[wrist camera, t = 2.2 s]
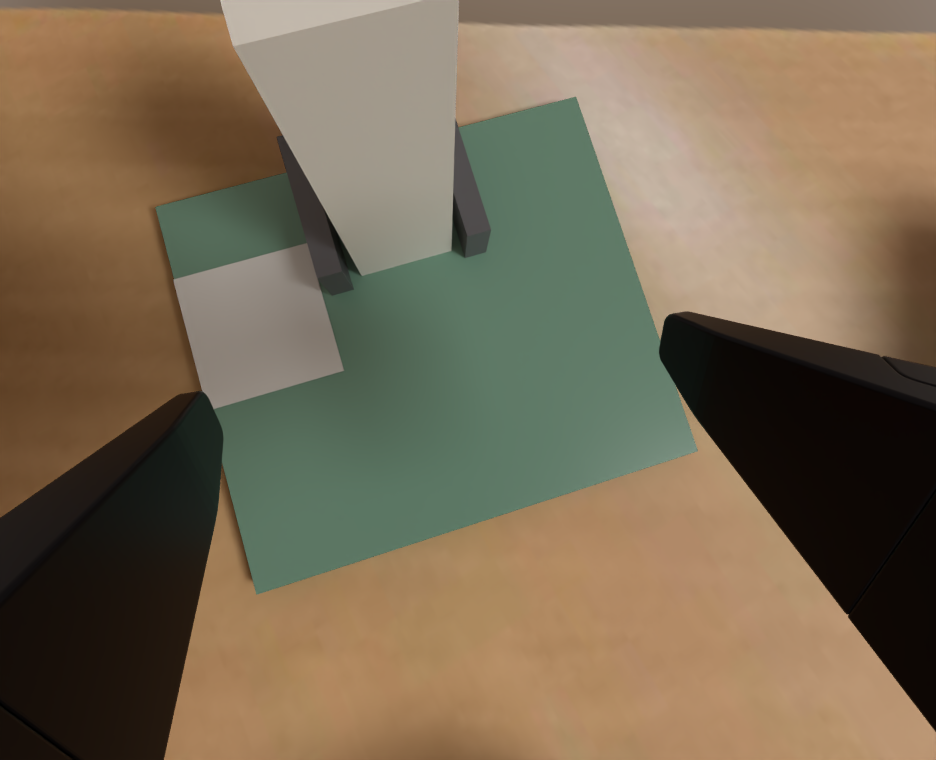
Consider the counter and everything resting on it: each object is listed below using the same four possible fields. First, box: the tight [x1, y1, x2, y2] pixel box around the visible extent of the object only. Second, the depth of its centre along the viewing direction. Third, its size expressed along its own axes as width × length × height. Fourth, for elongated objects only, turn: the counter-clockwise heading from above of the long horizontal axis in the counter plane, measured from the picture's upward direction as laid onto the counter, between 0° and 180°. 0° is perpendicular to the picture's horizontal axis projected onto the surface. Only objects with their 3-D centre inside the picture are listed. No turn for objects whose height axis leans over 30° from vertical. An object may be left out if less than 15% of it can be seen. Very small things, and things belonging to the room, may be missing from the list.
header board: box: [155, 97, 698, 594], centre depth 21 cm, size 18×20×4 cm
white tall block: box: [220, 0, 459, 276], centre depth 15 cm, size 4×4×14 cm
